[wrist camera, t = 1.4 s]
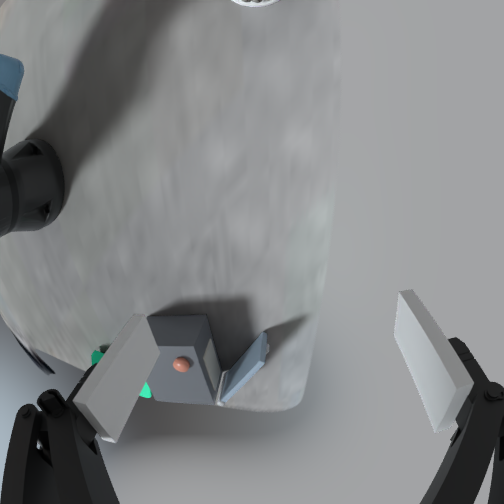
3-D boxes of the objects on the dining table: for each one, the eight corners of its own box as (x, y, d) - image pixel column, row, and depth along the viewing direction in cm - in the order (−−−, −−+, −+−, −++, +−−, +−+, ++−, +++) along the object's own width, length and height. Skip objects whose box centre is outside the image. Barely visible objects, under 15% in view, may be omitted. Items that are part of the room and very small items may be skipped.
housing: (171, 375, 48) (157, 408, 41) (147, 316, 44) (126, 348, 36) (225, 376, 47) (217, 413, 39) (208, 314, 42) (194, 349, 35)
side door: (222, 375, 47) (215, 403, 41) (262, 329, 42) (259, 359, 36) (230, 378, 47) (223, 407, 41) (270, 333, 42) (268, 364, 36)
